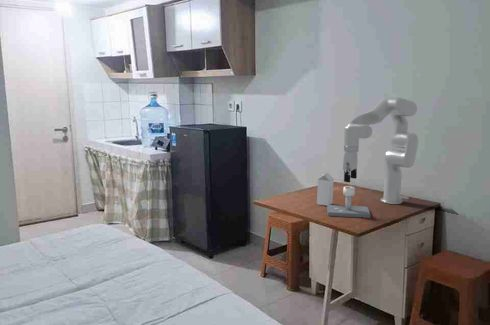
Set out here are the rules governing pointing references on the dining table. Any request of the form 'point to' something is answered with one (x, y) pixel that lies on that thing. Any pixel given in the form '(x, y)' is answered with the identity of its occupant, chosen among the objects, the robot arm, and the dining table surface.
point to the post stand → (348, 210)
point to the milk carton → (325, 190)
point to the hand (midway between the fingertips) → (350, 180)
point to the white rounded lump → (348, 191)
